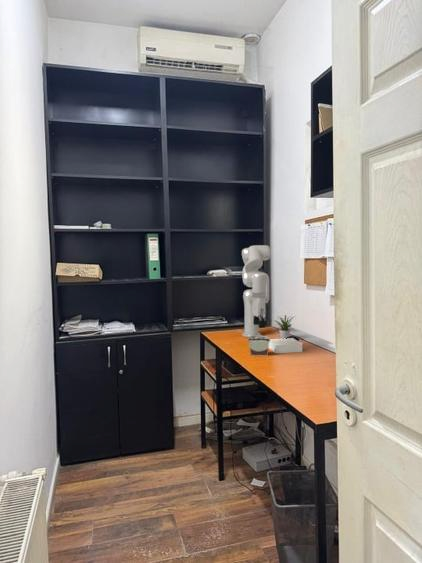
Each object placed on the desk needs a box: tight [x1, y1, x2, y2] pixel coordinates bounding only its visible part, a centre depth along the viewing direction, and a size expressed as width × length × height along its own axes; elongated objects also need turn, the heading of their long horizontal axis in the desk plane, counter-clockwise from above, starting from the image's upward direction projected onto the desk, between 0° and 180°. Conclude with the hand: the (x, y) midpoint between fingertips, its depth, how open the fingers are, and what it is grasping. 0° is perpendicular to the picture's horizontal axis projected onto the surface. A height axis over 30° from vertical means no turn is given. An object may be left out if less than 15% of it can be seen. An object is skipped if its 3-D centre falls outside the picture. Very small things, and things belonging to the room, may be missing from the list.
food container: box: [248, 335, 271, 357], centre depth 214 cm, size 12×6×10 cm, turn 84°
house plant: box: [273, 314, 297, 339], centre depth 249 cm, size 14×14×16 cm
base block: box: [268, 337, 303, 354], centre depth 224 cm, size 14×16×5 cm
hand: (259, 326), depth 213 cm, fingers open, 9 cm apart
